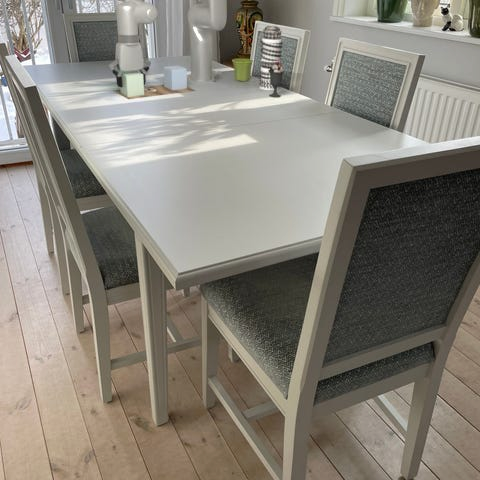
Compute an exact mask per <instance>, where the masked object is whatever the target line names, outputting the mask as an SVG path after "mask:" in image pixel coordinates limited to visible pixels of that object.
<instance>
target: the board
mask: <svg viewBox="0 0 480 480" xmlns="http://www.w3.org/2000/svg"><path fill="white" fill-rule="evenodd" d="M196 91H197V90H196V89H194V88H191V87H189V86H187V88H186V89H178V90H171V89H168V88H166V87H164V84H159V85H151V86H144V95H140V96H132V97H127V96H125V95H123V94H122V93H121V91H120V89H116V90H113V92H115V93H116V94H119V95H120V96H122V97H124V98H125V99H127V100H134V99H143V98H148V97H149V98H150V97H151V98H152V97H156V96H166V95H173V94H175V95H176V94H181V93H188V92H196Z"/></svg>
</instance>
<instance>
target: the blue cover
mask: <svg viewBox="0 0 480 480" xmlns="http://www.w3.org/2000/svg"><path fill="white" fill-rule="evenodd" d="M187 71H188V70H187V68H186V67H183V66H181V65H172V66H170V65H169V66H163V85H164V87H166V88H168V89H171V90H178V89H186V88H187V87H188V72H187Z"/></svg>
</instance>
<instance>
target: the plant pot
mask: <svg viewBox="0 0 480 480" xmlns="http://www.w3.org/2000/svg"><path fill="white" fill-rule="evenodd" d="M231 62H232V64H233V69H234V78H235V81H237V82H239V81H240V82H248V81H249V79H250V74H251V73H250V72H251V67H252V65H253V62H254V60H253V59H249V58H234V59H231Z"/></svg>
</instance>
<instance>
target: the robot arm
mask: <svg viewBox="0 0 480 480" xmlns="http://www.w3.org/2000/svg"><path fill="white" fill-rule="evenodd" d="M197 1H199V2H206V3H208V4H201V3H197V4H194V5H191V7H189V9H188V12H187V21H188V26H189V27H188V28H189V35H190V39H189V40H190V76H187V81H190V82H194V83H210V82H213V83H216V78H215V77H216V76H217V77H218V76H222V71H221V70H217V71H216V70H214V69H213V35H212V32H211V31H213V32H218V31H219V32H220V31H222V30H224V28H225V26H226V24H227V17H228V15H227V13H228V12H227V11H228V8H227V7H228V6H227V1H228V0H197ZM115 13H116V26H117V37H118V38H117V40H118V41H117V42H116V44H115V57H114V58H115V60H114V61H112V62H110V63H109V64H108V65H107V66H108V68H109V70H110V71H111V73H112V74H113V75H114V76H115V78H116V79H115V81H116V85H117V86H118V87H119V88H120V87H123V84H122V77H121V74H122V73H123V71H138V72H139V73H141V74H143V80H144V86H146V81H147V79H146V78H147V77H146V74H147V73H148V71H149V70H150V68H151V64H152V62H151V61H150V60H148V59H146V58H144V53H143V48H142V45H141V44H142V43H141V42H140V40H141V39H142V35H140V34H139V25H140V24H143V25H151V24H154V23H155V22H156V20H157V19H158V15H159V12H158V9H157V7H156V6H155V5H154V4H152V2H146V1H144V0H124V2H120V3H117V4H116V6H115ZM114 67H115V68H114ZM116 68H117V71H116Z"/></svg>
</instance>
